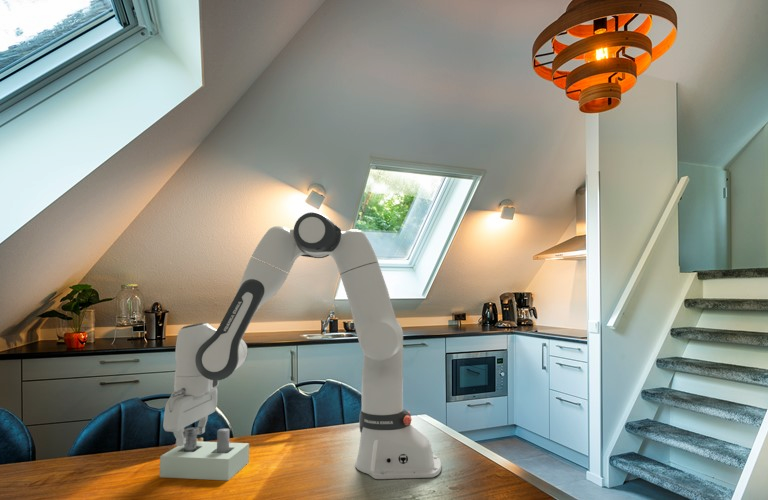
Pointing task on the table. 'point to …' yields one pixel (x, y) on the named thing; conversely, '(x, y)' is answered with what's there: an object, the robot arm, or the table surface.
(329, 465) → the table surface
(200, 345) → the robot arm
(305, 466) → the table surface
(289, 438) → the table surface
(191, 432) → the peg
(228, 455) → the hole block
